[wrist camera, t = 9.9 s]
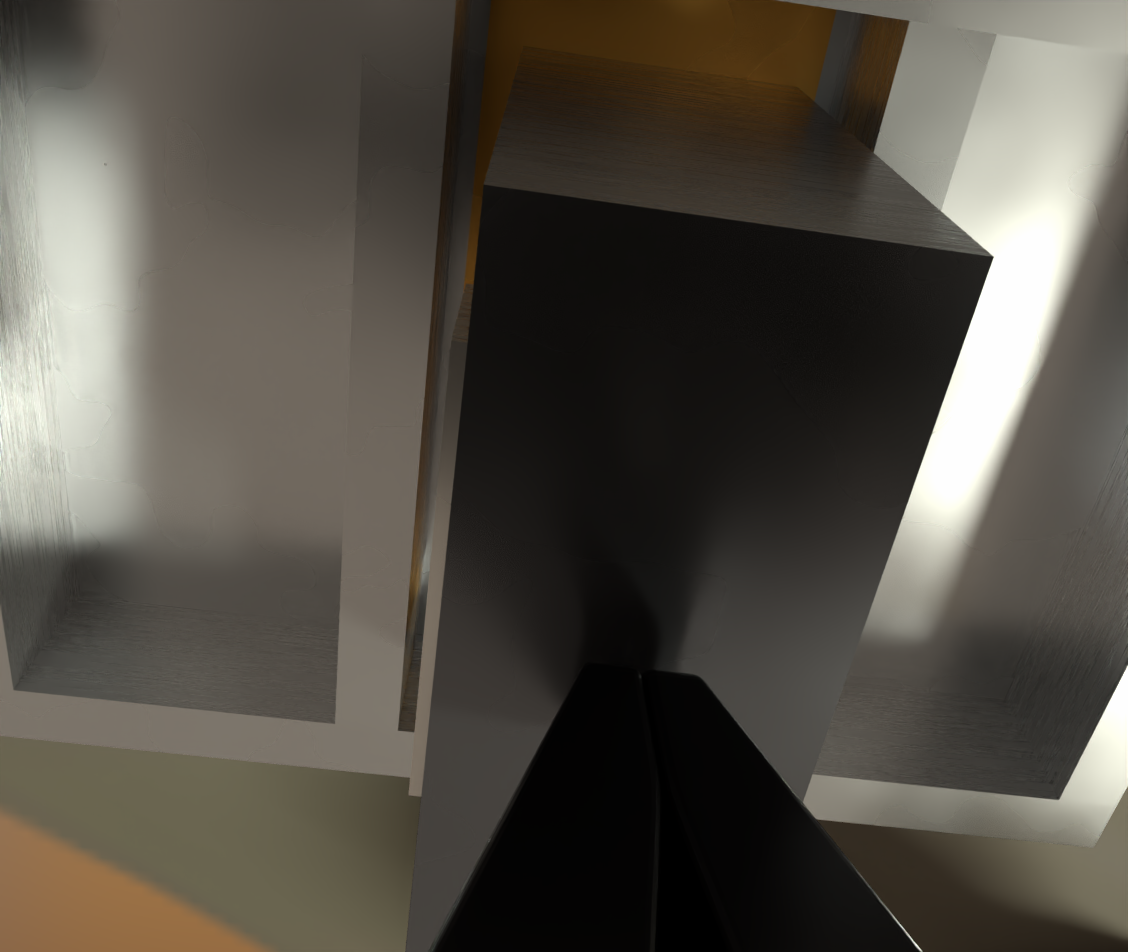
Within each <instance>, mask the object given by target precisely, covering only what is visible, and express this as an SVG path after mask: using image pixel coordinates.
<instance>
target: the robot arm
mask: <svg viewBox="0 0 1128 952" xmlns="http://www.w3.org/2000/svg"><path fill="white" fill-rule="evenodd" d="M428 952H922V950H921V949H920V948H919V947H918V945H917V944H916V943H915V942H914V940H913V939H912V938H911V937H910V935H909V934H908V933H907V932H906V930H905V929H904V928H903V927H902V925H901V924H900V923H899V922H898V920H897V919H896V918H895V917H894V915H893V914H892V913H891V912H890V911H889V909H888V908H887V907H886V906H885V904H884V903H883V902H882V901H881V899H880V898H879V897H878V896H877V894H876V893H875V892H874V891H873V889H872V888H871V887H870V886H869V884H868V883H867V882H866V881H865V879H864V878H863V877H862V876H861V874H860V873H859V872H858V871H857V869H856V868H855V867H854V866H853V864H852V863H851V862H850V861H849V860H848V858H847V857H846V856H845V855H844V853H843V852H842V851H841V850H840V848H839V847H838V846H837V845H836V843H835V842H834V841H833V840H832V838H831V837H830V836H829V835H828V833H827V832H826V831H825V830H824V828H823V827H822V826H821V825H820V823H819V822H818V821H817V820H816V818H815V817H814V816H813V815H812V813H811V812H810V811H809V810H808V808H807V807H806V806H805V805H804V804H803V802H802V801H801V800H800V799H799V797H798V796H797V795H796V794H795V792H794V791H793V790H792V789H791V787H790V786H789V785H788V784H787V782H786V781H785V780H784V779H783V777H782V776H781V775H780V774H779V772H778V771H777V770H776V769H775V767H774V766H773V765H772V764H771V762H770V761H769V760H768V759H767V757H766V756H765V755H764V754H763V753H762V751H761V750H760V749H759V748H758V746H757V745H756V744H755V743H754V741H753V740H752V739H751V738H750V736H749V735H748V734H747V733H746V731H745V730H744V729H743V728H742V726H741V725H740V724H739V723H738V721H737V720H736V719H735V718H734V716H733V715H732V714H731V713H730V711H729V710H728V709H727V708H726V706H725V705H724V704H723V703H722V701H721V700H720V699H719V698H718V697H717V695H716V694H715V693H714V692H713V690H712V689H711V688H710V687H709V685H708V684H707V683H706V682H705V681H704V680H703V679H702V678H701V677H699V676H698V675H694V674H689V673H680V672H671V671H662V670H648V671H646V672H645V673H644V674H643V675H642V676H641V674H640V672H639V671H638V670H636V669H635V668H632V667H626V666H617V665H608V664H599V663H588V664H586V665H584V666H583V667H582V668H581V670H580V671H579V673H578V675H577V677H576V679H575V680H574V682H573V684H572V686H571V688H570V690H569V692H568V693H567V695H566V697H565V699H564V701H563V703H562V705H561V706H560V708H559V710H558V712H557V714H556V716H555V717H554V719H553V721H552V723H551V725H550V727H549V729H548V730H547V732H546V734H545V736H544V738H543V740H542V741H541V743H540V745H539V747H538V749H537V751H536V753H535V754H534V756H533V758H532V760H531V762H530V764H529V766H528V767H527V769H526V771H525V773H524V775H523V777H522V778H521V780H520V782H519V784H518V786H517V788H516V790H515V791H514V793H513V795H512V797H511V799H510V801H509V803H508V804H507V806H506V808H505V810H504V812H503V814H502V815H501V817H500V819H499V821H498V823H497V825H496V827H495V828H494V830H493V832H492V834H491V836H490V838H489V839H488V841H487V843H486V845H485V847H484V849H483V851H482V852H481V854H480V856H479V858H478V860H477V862H476V864H475V865H474V867H473V869H472V871H471V873H470V875H469V876H468V878H467V880H466V882H465V884H464V886H463V888H462V889H461V891H460V893H459V895H458V897H457V899H456V901H455V902H454V904H453V906H452V908H451V910H450V912H449V913H448V915H447V917H446V919H445V921H444V923H443V925H442V926H441V928H440V930H439V932H438V934H437V936H436V937H435V939H434V941H433V943H432V945H431V947H430V949H429V950H428Z"/></svg>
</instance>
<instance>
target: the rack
mask: <svg viewBox="0 0 1128 952" xmlns="http://www.w3.org/2000/svg"><path fill="white" fill-rule="evenodd" d="M523 46H527V47H534V48H541V49H547V50H554V51H561V52H567V53H574V54H581V55H587V56H594V57H600V58H607V59H614V60H620V61H627V62H634V63H640V64H647V65H654V66H660V67H667V68H673V69H680V70H687V71H693V72H700V73H707V74H713V75H720V76H727V77H733V78H740V79H746V80H753V81H760V82H766V83H773V84H780V85H786V86H793V87H798V88H799V89H800V90H802V91H803V92H804V93H805V94H806V95H807V96H809V97H810V98H811V99H812V100H813V101H814V102H816V103H817V104H818V105H819V106H820V107H821V108H822V109H824V110H825V111H826V112H827V113H828V114H829V115H831V116H832V117H833V118H834V119H835V120H836V121H837V122H839V123H840V124H841V125H842V126H843V127H844V128H846V129H847V130H848V131H849V132H850V133H851V134H852V135H854V136H855V137H856V138H857V139H858V140H859V141H861V142H862V143H863V144H864V145H865V146H866V147H868V148H869V149H870V150H871V151H872V152H873V153H874V154H876V155H877V156H878V157H879V158H880V159H881V160H883V161H884V162H885V163H886V164H887V165H888V166H889V167H891V168H892V169H893V170H894V171H895V172H896V173H898V174H899V175H900V176H901V177H902V178H903V179H905V180H906V181H907V182H908V183H909V184H910V185H911V186H913V187H914V188H915V189H916V190H917V191H918V192H920V193H921V194H922V195H923V196H924V197H925V198H926V199H928V200H929V201H930V202H931V203H932V204H933V205H935V206H936V207H937V208H938V209H939V210H940V211H941V212H943V213H944V214H945V215H946V216H947V217H948V218H950V219H951V220H952V221H953V222H954V223H955V224H957V225H958V226H959V227H960V228H961V229H962V230H963V231H965V232H966V233H967V234H968V235H969V236H970V237H972V238H973V239H974V240H975V241H976V242H977V243H978V244H980V245H981V246H982V247H983V248H984V249H985V250H987V251H988V252H989V253H990V254H991V255H992V256H994V258H993V261H992V264H991V267H990V269H989V272H988V275H987V278H986V281H985V284H984V287H983V289H982V292H981V295H980V298H979V301H978V304H977V307H976V309H975V312H974V315H973V318H972V321H971V324H970V327H969V329H968V332H967V335H966V338H965V341H964V344H963V347H962V349H961V352H960V355H959V358H958V361H957V364H956V367H955V369H954V372H953V375H952V378H951V381H950V384H949V387H948V389H947V392H946V395H945V398H944V401H943V404H942V407H941V409H940V412H939V415H938V418H937V421H936V424H935V426H934V429H933V432H932V435H931V438H930V441H929V444H928V446H927V449H926V452H925V455H924V458H923V461H922V464H921V466H920V469H919V472H918V475H917V478H916V481H915V484H914V486H913V489H912V492H911V495H910V498H909V501H908V504H907V506H906V509H905V512H904V515H903V518H902V521H901V524H900V526H899V529H898V532H897V535H896V538H895V541H894V544H893V546H892V549H891V552H890V555H889V558H888V561H887V564H886V566H885V569H884V572H883V575H882V578H881V581H880V584H879V586H878V589H877V592H876V595H875V598H874V601H873V604H872V606H871V609H870V612H869V615H868V618H867V621H866V623H865V626H864V629H863V632H862V635H861V638H860V641H859V643H858V646H857V649H856V652H855V655H854V658H853V661H852V663H851V666H850V669H849V672H848V675H847V678H846V681H845V683H844V686H843V689H842V692H841V695H840V698H839V701H838V703H837V706H836V709H835V712H834V715H833V718H832V721H831V723H830V726H829V729H828V732H827V735H826V738H825V741H824V743H823V746H822V749H821V752H820V755H819V758H818V761H817V763H816V766H815V769H814V772H813V775H812V778H811V781H810V783H809V786H808V789H807V792H806V795H805V798H804V801H803V804H804V805H805V806H806V807H807V808H808V810H809V811H810V812H811V813H812V815H813V816H814V817H815V818H816V819H819V820H828V821H838V822H848V823H858V824H868V825H877V826H887V827H897V828H907V829H916V830H926V831H936V832H946V833H955V834H965V835H975V836H985V837H995V838H1004V839H1014V840H1024V841H1034V842H1043V843H1053V844H1063V845H1073V846H1082V847H1092V848H1094V846H1095V844H1096V842H1097V841H1098V839H1099V837H1100V835H1101V833H1102V832H1103V830H1104V828H1105V826H1106V824H1107V822H1108V821H1109V819H1110V817H1111V815H1112V813H1113V812H1114V810H1115V808H1116V806H1117V804H1118V803H1119V801H1120V799H1121V797H1122V795H1123V793H1124V792H1125V790H1126V788H1127V786H1128V0H0V736H8V737H18V738H27V739H37V740H47V741H57V742H67V743H76V744H86V745H96V746H106V747H115V748H125V749H135V750H145V751H154V752H164V753H174V754H184V755H194V756H203V757H213V758H223V759H233V760H242V761H252V762H262V763H272V764H281V765H291V766H301V767H311V768H321V769H330V770H340V771H350V772H360V773H369V774H379V775H389V776H399V777H408V778H410V774H411V763H412V753H413V742H414V731H415V721H416V710H417V699H418V689H419V678H420V667H421V657H422V646H423V635H424V625H425V614H426V603H427V593H428V582H429V571H430V561H431V550H432V539H433V529H434V518H435V507H436V496H437V486H438V475H439V464H440V454H441V443H442V432H443V422H444V411H445V400H446V390H447V379H448V368H449V358H450V347H451V339H452V335H453V331H454V327H455V324H456V320H457V316H458V312H459V308H460V304H461V300H462V297H463V293H464V289H465V285H466V284H474V274H475V264H476V255H477V245H478V235H479V225H480V215H481V206H482V196H483V186H484V182H485V178H486V175H487V171H488V168H489V164H490V161H491V157H492V154H493V150H494V147H495V143H496V140H497V136H498V133H499V129H500V126H501V122H502V119H503V115H504V112H505V108H506V105H507V101H508V98H509V94H510V91H511V87H512V84H513V80H514V77H515V73H516V70H517V66H518V63H519V59H520V56H521V52H522V49H523Z"/></svg>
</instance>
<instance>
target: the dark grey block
mask: <svg viewBox="0 0 1128 952" xmlns="http://www.w3.org/2000/svg"><path fill="white" fill-rule="evenodd" d="M993 258H994V256H992V255H991V254H990V253H989V252H988V251H987V250H985V249H984V248H983V247H982V246H981V245H980V244H978V243H977V242H976V241H975V240H974V239H973V238H972V237H970V236H969V235H968V234H967V233H966V232H965V231H963V230H962V229H961V228H960V227H959V226H958V225H957V224H955V223H954V222H953V221H952V220H951V219H950V218H948V217H947V216H946V215H945V214H944V213H943V212H941V211H940V210H939V209H938V208H937V207H936V206H935V205H933V204H932V203H931V202H930V201H929V200H928V199H926V198H925V197H924V196H923V195H922V194H921V193H920V192H918V191H917V190H916V189H915V188H914V187H913V186H911V185H910V184H909V183H908V182H907V181H906V180H905V179H903V178H902V177H901V176H900V175H899V174H898V173H896V172H895V171H894V170H893V169H892V168H891V167H889V166H888V165H887V164H886V163H885V162H884V161H883V160H881V159H880V158H879V157H878V156H877V155H876V154H874V153H873V152H872V151H871V150H870V149H869V148H868V147H866V146H865V145H864V144H863V143H862V142H861V141H859V140H858V139H857V138H856V137H855V136H854V135H852V134H851V133H850V132H849V131H848V130H847V129H846V128H844V127H843V126H842V125H841V124H840V123H839V122H837V121H836V120H835V119H834V118H833V117H832V116H831V115H829V114H828V113H827V112H826V111H825V110H824V109H822V108H821V107H820V106H819V105H818V104H817V103H816V102H814V101H813V100H812V99H811V98H810V97H809V96H807V95H806V94H805V93H804V92H803V91H802V90H800V89H799V88H798V87H793V86H786V85H780V84H773V83H766V82H760V81H753V80H746V79H740V78H733V77H727V76H720V75H713V74H707V73H700V72H693V71H687V70H680V69H673V68H667V67H660V66H654V65H647V64H640V63H634V62H627V61H620V60H614V59H607V58H600V57H594V56H587V55H581V54H574V53H567V52H561V51H554V50H547V49H541V48H534V47H527V46H523V49H522V52H521V56H520V59H519V63H518V66H517V70H516V73H515V77H514V80H513V84H512V87H511V91H510V94H509V98H508V101H507V105H506V108H505V112H504V115H503V119H502V122H501V126H500V129H499V133H498V136H497V140H496V143H495V147H494V150H493V154H492V157H491V161H490V164H489V168H488V171H487V175H486V178H485V182H484V186H483V196H482V206H481V215H480V225H479V235H478V245H477V255H476V264H475V274H474V284H466V285H465V289H464V293H463V297H462V300H461V304H460V308H459V312H458V316H457V320H456V324H455V327H454V331H453V335H452V339H451V347H450V358H449V368H448V379H447V390H446V400H445V411H444V422H443V432H442V443H441V454H440V464H439V475H438V486H437V496H436V507H435V518H434V529H433V539H432V550H431V561H430V571H429V582H428V593H427V603H426V614H425V625H424V635H423V646H422V657H421V667H420V678H419V689H418V699H417V710H416V721H415V731H414V742H413V753H412V763H411V774H410V785H409V795H410V796H420V797H421V804H420V814H419V823H418V833H417V843H416V853H415V863H414V872H413V882H412V892H411V902H410V912H409V921H408V931H407V941H406V951H405V952H428V950H429V949H430V947H431V945H432V943H433V941H434V939H435V937H436V936H437V934H438V932H439V930H440V928H441V926H442V925H443V923H444V921H445V919H446V917H447V915H448V913H449V912H450V910H451V908H452V906H453V904H454V902H455V901H456V899H457V897H458V895H459V893H460V891H461V889H462V888H463V886H464V884H465V882H466V880H467V878H468V876H469V875H470V873H471V871H472V869H473V867H474V865H475V864H476V862H477V860H478V858H479V856H480V854H481V852H482V851H483V849H484V847H485V845H486V843H487V841H488V839H489V838H490V836H491V834H492V832H493V830H494V828H495V827H496V825H497V823H498V821H499V819H500V817H501V815H502V814H503V812H504V810H505V808H506V806H507V804H508V803H509V801H510V799H511V797H512V795H513V793H514V791H515V790H516V788H517V786H518V784H519V782H520V780H521V778H522V777H523V775H524V773H525V771H526V769H527V767H528V766H529V764H530V762H531V760H532V758H533V756H534V754H535V753H536V751H537V749H538V747H539V745H540V743H541V741H542V740H543V738H544V736H545V734H546V732H547V730H548V729H549V727H550V725H551V723H552V721H553V719H554V717H555V716H556V714H557V712H558V710H559V708H560V706H561V705H562V703H563V701H564V699H565V697H566V695H567V693H568V692H569V690H570V688H571V686H572V684H573V682H574V680H575V679H576V677H577V675H578V673H579V671H580V670H581V668H582V667H583V666H584V665H586V664H588V663H599V664H608V665H617V666H626V667H632V668H635V669H636V670H638V671H639V672H640V674H641V676H642V675H643V674H644V673H645V672H646V671H648V670H662V671H671V672H680V673H689V674H694V675H698V676H699V677H701V678H702V679H703V680H704V681H705V682H706V683H707V684H708V685H709V687H710V688H711V689H712V690H713V692H714V693H715V694H716V695H717V697H718V698H719V699H720V700H721V701H722V703H723V704H724V705H725V706H726V708H727V709H728V710H729V711H730V713H731V714H732V715H733V716H734V718H735V719H736V720H737V721H738V723H739V724H740V725H741V726H742V728H743V729H744V730H745V731H746V733H747V734H748V735H749V736H750V738H751V739H752V740H753V741H754V743H755V744H756V745H757V746H758V748H759V749H760V750H761V751H762V753H763V754H764V755H765V756H766V757H767V759H768V760H769V761H770V762H771V764H772V765H773V766H774V767H775V769H776V770H777V771H778V772H779V774H780V775H781V776H782V777H783V779H784V780H785V781H786V782H787V784H788V785H789V786H790V787H791V789H792V790H793V791H794V792H795V794H796V795H797V796H798V797H799V799H800V800H801V801H802V802H803V801H804V798H805V795H806V792H807V789H808V786H809V783H810V781H811V778H812V775H813V772H814V769H815V766H816V763H817V761H818V758H819V755H820V752H821V749H822V746H823V743H824V741H825V738H826V735H827V732H828V729H829V726H830V723H831V721H832V718H833V715H834V712H835V709H836V706H837V703H838V701H839V698H840V695H841V692H842V689H843V686H844V683H845V681H846V678H847V675H848V672H849V669H850V666H851V663H852V661H853V658H854V655H855V652H856V649H857V646H858V643H859V641H860V638H861V635H862V632H863V629H864V626H865V623H866V621H867V618H868V615H869V612H870V609H871V606H872V604H873V601H874V598H875V595H876V592H877V589H878V586H879V584H880V581H881V578H882V575H883V572H884V569H885V566H886V564H887V561H888V558H889V555H890V552H891V549H892V546H893V544H894V541H895V538H896V535H897V532H898V529H899V526H900V524H901V521H902V518H903V515H904V512H905V509H906V506H907V504H908V501H909V498H910V495H911V492H912V489H913V486H914V484H915V481H916V478H917V475H918V472H919V469H920V466H921V464H922V461H923V458H924V455H925V452H926V449H927V446H928V444H929V441H930V438H931V435H932V432H933V429H934V426H935V424H936V421H937V418H938V415H939V412H940V409H941V407H942V404H943V401H944V398H945V395H946V392H947V389H948V387H949V384H950V381H951V378H952V375H953V372H954V369H955V367H956V364H957V361H958V358H959V355H960V352H961V349H962V347H963V344H964V341H965V338H966V335H967V332H968V329H969V327H970V324H971V321H972V318H973V315H974V312H975V309H976V307H977V304H978V301H979V298H980V295H981V292H982V289H983V287H984V284H985V281H986V278H987V275H988V272H989V269H990V267H991V264H992V261H993Z"/></svg>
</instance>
